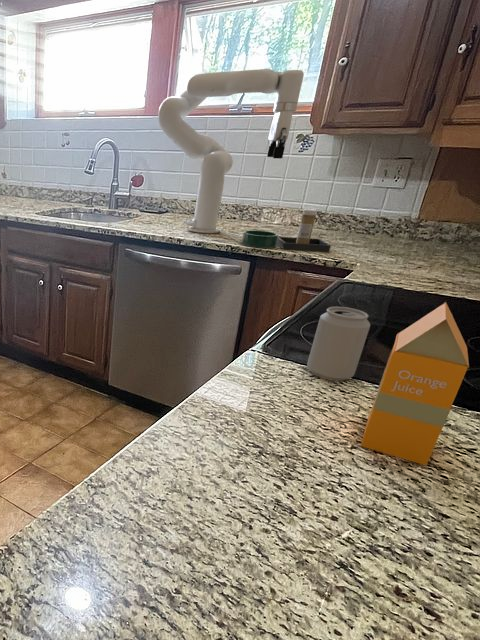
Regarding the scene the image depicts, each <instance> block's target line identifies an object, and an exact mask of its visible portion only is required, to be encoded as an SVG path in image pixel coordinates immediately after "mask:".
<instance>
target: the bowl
mask: <svg viewBox="0 0 480 640" xmlns="http://www.w3.org/2000/svg"><path fill="white" fill-rule="evenodd" d="M242 233H243V234H242V238H241V244H242V245H244V246H246V247H251V248H257V249H258V248H259V249H270V248H271V249H272V248H275V247H276V246H277V244H276V242H277V238H278V237H279V234H278V233H276V232H272V231H267V230H255V229H251V230H244V231H243V232H242Z"/></svg>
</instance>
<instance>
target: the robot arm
mask: <svg viewBox="0 0 480 640" xmlns="http://www.w3.org/2000/svg"><path fill="white" fill-rule="evenodd" d="M304 75H305V73H304V71H303V70H301V69H287V70H284V71H275V70H273V69H270V68H269V69H268V68H262V69H261V68H260V69H245V70H230V71H219V72H218V71H216V72H215V71H214V72H200V73H195V74H193V75H190V77H189V78H188V79H187V81H186V84H185V90H184V91H183V92H182V93H181V94H180V95H179V96H176V95H174V96H169V97H166V98H165V99H164V100H163V101H162V102H161V104H160V106H159V108H158V113H157V121H158V125H159V127H160V129H161V131H162V132H163V134H164V135H165V136H166V137H167V138H169V140H170V141H171V142H173V143H174V144H175V146H176V147H178V148H179V150H181V151H182V152H183V153H184V154H185V155H186V156H187V157H188V158H190V159H193V160H198V161H199V162H200V163H201V164H200V168H199V184H198V190H197V197H196V203H195V209H194V215H193V218H192V219H190V220H187V219H186V220H185V219H183V220H181V225H182V226H188V231H190V232H193V233H198V234H217V233H220V230H221V229H220V228H219V227H217V225H218V219H219V213H220V208H221V202H222V198H223V193H224V187H225V186H224V185H225V174H227V173H228V172H229V171H230V170H231V169H232V167H233V163H234V160H233V156H232V155H231V153H230V152H229V151H228V150H226V149H225V148H224V147H223V146H222V145H220V143H218V141H216V140H215V138H213V137H211V136H210V135H209V134H203V133H199V132H198V131H196V129H194V128H193V127H192V126H191V125H190V124H189V123H188V122H186V121H185V120H184V119H185V118H186V117H188V115H190V114H191V113H192V112H193V111H195V109H196V108H198V107H199V106H200V105H201V104H202V103H203V102H204V101H205V100H206V99H207V98H214V97H217V98H218V97H230V96H233V95H236V94H251V93H262V94H265V95H266V94H267V95H268V94H275V93H276V97H275V101H274V104H273V105H274V106H273V111H272V113H273V114H274V115H273V118H272V120H271V125H270V129H269V134H268V138H267V139H268V141H270V142H269V145H268V150H267V155H266V157H267V158H272V159H283V158H284V157H283V156H284V153H285V148H286V142H287V140H288V137H289V134H290V129H291V124H292V119H293V113H295V114H296V112H297V107H298V102H299V98H300V93H301V90H302V85H303V80H304Z"/></svg>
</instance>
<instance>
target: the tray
mask: <svg viewBox="0 0 480 640" xmlns="http://www.w3.org/2000/svg"><path fill="white" fill-rule="evenodd" d="M296 240H297V237H290V236H289V237H288V236H278V238H277V242H276V246H278V247H280V249H282V250H283V251H297V252H316V253H330V250H331V246H332V245H331V244H330V243H328V242H326V241H324V240H323V239H321V238H310V241H309V244H300V243H296Z"/></svg>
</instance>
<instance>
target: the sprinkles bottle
mask: <svg viewBox="0 0 480 640" xmlns="http://www.w3.org/2000/svg"><path fill="white" fill-rule="evenodd" d="M317 215H318V209H315V208H303V209H302V215H301V219H300V223H299V227H298V232H297V236H296V238H297V240H296V243H300V244H309V241H310V238H311V237H312V233H313V228H314V225H315V220H316V216H317ZM311 239H312V238H311Z"/></svg>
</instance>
